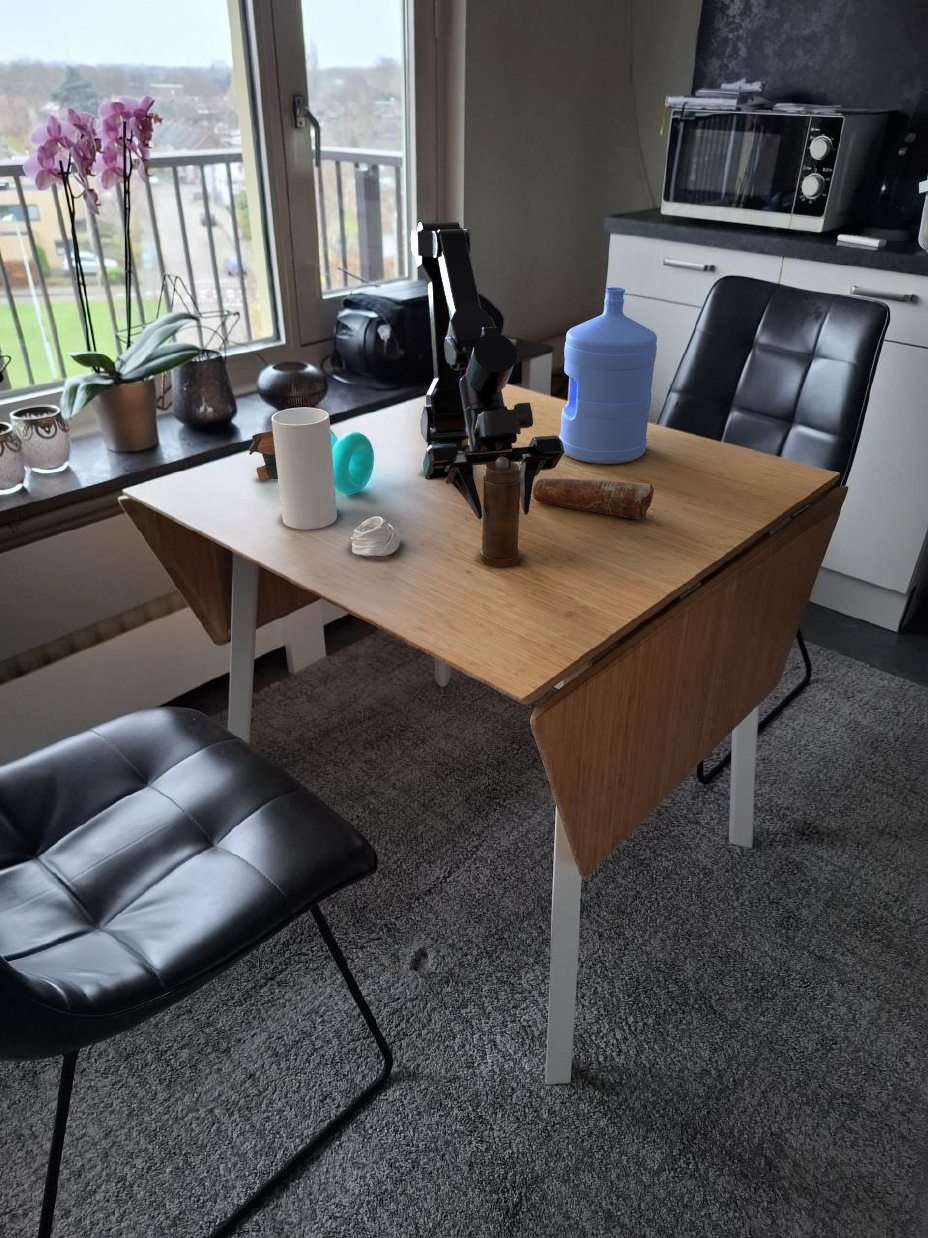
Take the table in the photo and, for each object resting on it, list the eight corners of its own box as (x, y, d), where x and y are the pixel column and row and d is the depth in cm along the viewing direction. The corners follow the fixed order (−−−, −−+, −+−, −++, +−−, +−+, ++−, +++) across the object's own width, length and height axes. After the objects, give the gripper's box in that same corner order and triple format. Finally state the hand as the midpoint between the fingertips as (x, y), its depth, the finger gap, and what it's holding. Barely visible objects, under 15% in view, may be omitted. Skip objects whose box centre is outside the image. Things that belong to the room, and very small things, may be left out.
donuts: (343, 505, 139) (338, 444, 134) (293, 492, 143) (287, 433, 138) (379, 484, 146) (376, 425, 141) (330, 473, 151) (325, 416, 146)
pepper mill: (474, 563, 122) (475, 460, 114) (488, 547, 126) (490, 447, 118) (511, 570, 120) (515, 466, 112) (524, 553, 124) (528, 452, 117)
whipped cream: (389, 569, 122) (390, 539, 119) (342, 561, 123) (342, 531, 120) (403, 541, 128) (404, 511, 126) (358, 533, 129) (359, 504, 126)
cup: (346, 511, 137) (338, 410, 129) (321, 532, 130) (312, 427, 122) (298, 504, 139) (288, 404, 131) (272, 525, 132) (260, 421, 124)
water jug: (658, 445, 163) (677, 286, 148) (623, 472, 151) (640, 302, 137) (581, 431, 170) (592, 277, 155) (543, 455, 158) (551, 291, 144)
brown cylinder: (645, 527, 132) (649, 492, 129) (527, 506, 139) (528, 472, 136) (656, 511, 137) (660, 478, 134) (541, 491, 144) (542, 459, 141)
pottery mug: (241, 483, 148) (235, 434, 148) (271, 489, 157) (266, 442, 156) (303, 472, 144) (298, 422, 143) (331, 478, 152) (326, 431, 152)
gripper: (425, 385, 112) (444, 498, 109) (564, 376, 116) (587, 486, 112) (415, 425, 123) (432, 530, 119) (543, 416, 127) (563, 517, 123)
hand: (503, 515), depth 118 cm, fingers open, 6 cm apart
